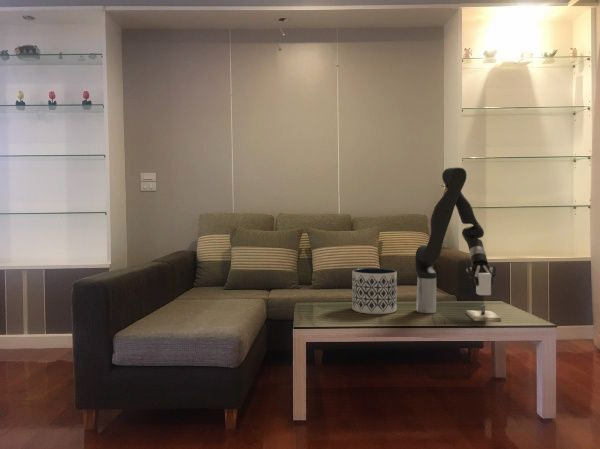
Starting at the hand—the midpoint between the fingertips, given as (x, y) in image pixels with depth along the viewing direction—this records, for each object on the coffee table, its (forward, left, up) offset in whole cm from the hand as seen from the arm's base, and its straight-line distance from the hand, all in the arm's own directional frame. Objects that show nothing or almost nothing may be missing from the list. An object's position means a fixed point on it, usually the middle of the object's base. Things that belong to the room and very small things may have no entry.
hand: (484, 284), depth 236 cm
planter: (-51, +13, -16) cm, 55 cm away
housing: (0, +2, -5) cm, 5 cm away
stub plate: (0, +2, -16) cm, 16 cm away
